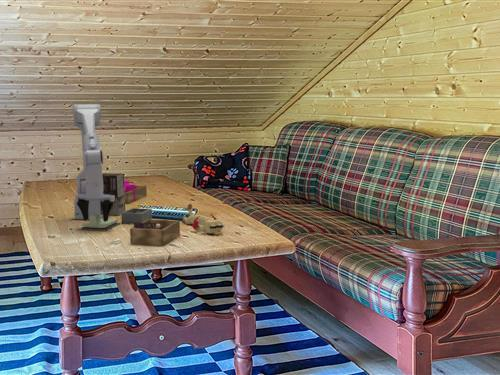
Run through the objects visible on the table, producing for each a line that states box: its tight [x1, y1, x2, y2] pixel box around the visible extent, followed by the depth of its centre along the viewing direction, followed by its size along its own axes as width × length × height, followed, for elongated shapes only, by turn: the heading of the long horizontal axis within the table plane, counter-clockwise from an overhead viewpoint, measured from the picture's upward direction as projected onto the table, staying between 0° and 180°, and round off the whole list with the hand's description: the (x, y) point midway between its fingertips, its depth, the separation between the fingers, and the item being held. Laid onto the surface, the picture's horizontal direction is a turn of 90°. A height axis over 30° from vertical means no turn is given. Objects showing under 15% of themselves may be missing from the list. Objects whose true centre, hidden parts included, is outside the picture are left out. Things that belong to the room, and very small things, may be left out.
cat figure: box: [181, 203, 226, 235], centre depth 220 cm, size 10×9×25 cm
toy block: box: [124, 179, 136, 202], centre depth 281 cm, size 15×6×8 cm, turn 22°
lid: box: [82, 214, 119, 228], centre depth 224 cm, size 9×11×5 cm
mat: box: [81, 222, 122, 231], centre depth 225 cm, size 10×11×1 cm
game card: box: [133, 223, 161, 230], centre depth 201 cm, size 7×5×9 cm
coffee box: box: [100, 172, 126, 216], centre depth 248 cm, size 9×6×16 cm
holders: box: [125, 184, 181, 247], centre depth 244 cm, size 21×104×5 cm, turn 17°
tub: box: [120, 207, 153, 225], centre depth 234 cm, size 8×10×4 cm
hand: (95, 220), depth 221 cm, fingers open, 7 cm apart
